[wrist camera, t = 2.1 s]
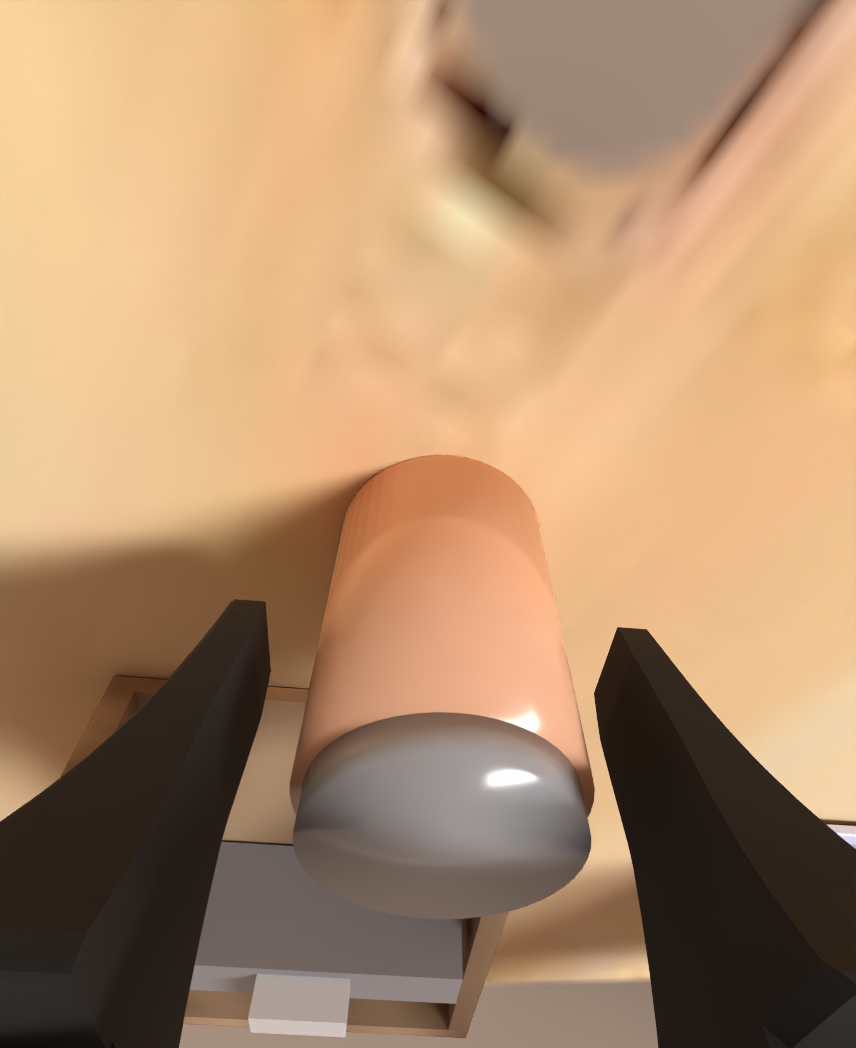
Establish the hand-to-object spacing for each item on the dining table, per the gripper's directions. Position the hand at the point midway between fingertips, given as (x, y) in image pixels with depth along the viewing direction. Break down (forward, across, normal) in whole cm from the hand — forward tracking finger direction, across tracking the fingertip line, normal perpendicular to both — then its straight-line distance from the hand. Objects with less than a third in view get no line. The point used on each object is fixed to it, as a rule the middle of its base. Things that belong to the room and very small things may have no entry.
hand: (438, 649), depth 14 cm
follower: (+3, +3, +15) cm, 16 cm away
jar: (+4, 0, 0) cm, 4 cm away
